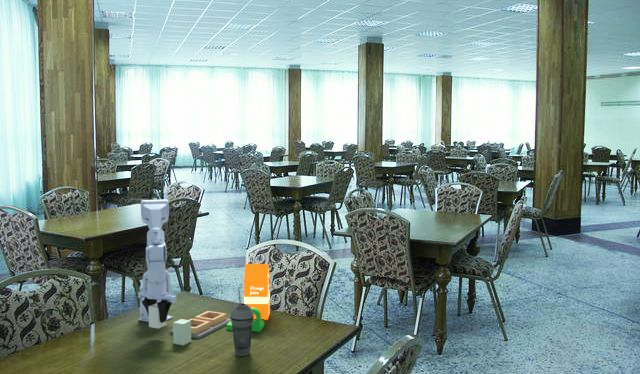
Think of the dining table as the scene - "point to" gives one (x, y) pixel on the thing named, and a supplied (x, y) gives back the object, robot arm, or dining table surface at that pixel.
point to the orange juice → (257, 288)
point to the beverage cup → (242, 327)
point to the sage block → (182, 332)
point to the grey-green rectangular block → (155, 317)
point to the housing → (207, 323)
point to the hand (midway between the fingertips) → (157, 320)
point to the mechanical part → (256, 324)
